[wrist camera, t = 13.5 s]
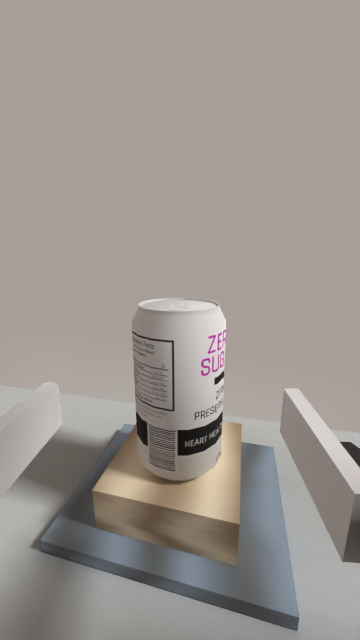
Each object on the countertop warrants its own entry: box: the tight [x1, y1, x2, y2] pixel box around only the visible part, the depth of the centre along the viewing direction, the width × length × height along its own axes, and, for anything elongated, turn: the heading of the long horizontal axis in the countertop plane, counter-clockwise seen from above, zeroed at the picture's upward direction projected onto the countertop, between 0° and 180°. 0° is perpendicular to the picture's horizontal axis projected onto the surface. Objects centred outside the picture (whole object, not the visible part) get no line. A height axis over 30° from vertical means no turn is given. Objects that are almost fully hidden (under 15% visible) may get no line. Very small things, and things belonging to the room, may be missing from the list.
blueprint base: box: [40, 421, 299, 630], centre depth 26 cm, size 20×16×5 cm
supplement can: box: [132, 298, 226, 481], centre depth 24 cm, size 8×8×15 cm
